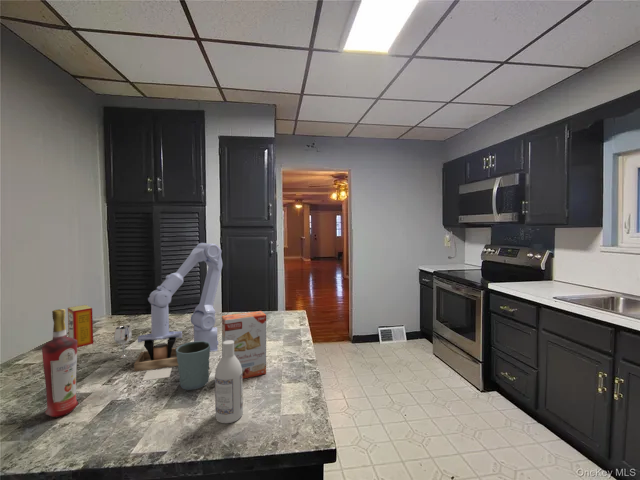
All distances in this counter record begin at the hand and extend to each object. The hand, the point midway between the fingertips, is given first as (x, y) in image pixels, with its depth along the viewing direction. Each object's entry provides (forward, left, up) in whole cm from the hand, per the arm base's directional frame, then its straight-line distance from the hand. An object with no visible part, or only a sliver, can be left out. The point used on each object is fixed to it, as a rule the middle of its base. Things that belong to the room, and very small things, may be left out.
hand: (161, 358), depth 114 cm
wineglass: (+14, -10, -2) cm, 18 cm away
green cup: (-13, +20, -2) cm, 24 cm away
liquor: (+20, +25, -2) cm, 32 cm away
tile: (-1, +10, -2) cm, 11 cm away
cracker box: (-29, +20, -2) cm, 35 cm away
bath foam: (-23, +42, -2) cm, 48 cm away
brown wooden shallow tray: (0, 0, -2) cm, 2 cm away
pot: (0, 0, -1) cm, 1 cm away
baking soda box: (+36, -34, -2) cm, 50 cm away
